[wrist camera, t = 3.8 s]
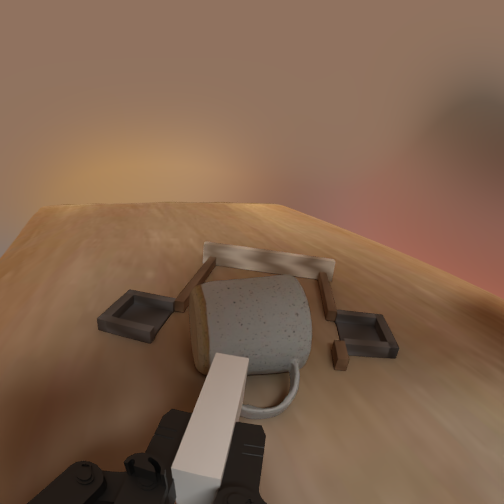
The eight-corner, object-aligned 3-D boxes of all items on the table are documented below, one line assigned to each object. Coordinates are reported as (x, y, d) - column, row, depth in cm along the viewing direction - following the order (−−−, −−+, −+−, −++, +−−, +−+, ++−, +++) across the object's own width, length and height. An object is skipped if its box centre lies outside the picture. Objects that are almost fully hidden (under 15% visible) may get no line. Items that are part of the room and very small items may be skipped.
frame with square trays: (359, 282, 46) (363, 263, 45) (403, 377, 24) (415, 349, 23) (176, 256, 48) (177, 237, 47) (98, 329, 26) (94, 301, 26)
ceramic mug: (185, 341, 27) (187, 261, 25) (271, 336, 30) (284, 261, 27) (206, 432, 18) (210, 338, 15) (320, 414, 20) (350, 325, 18)
